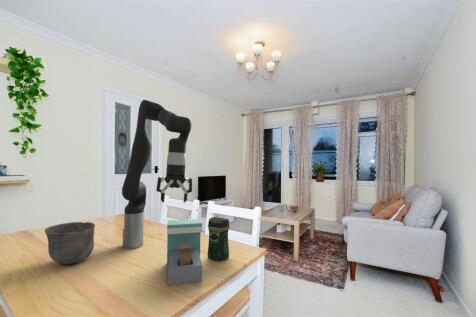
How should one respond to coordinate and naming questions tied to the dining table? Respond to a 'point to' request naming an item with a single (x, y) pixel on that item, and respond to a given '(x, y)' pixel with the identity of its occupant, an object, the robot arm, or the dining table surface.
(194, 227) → the teal two-tone block
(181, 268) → the socket block
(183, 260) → the walnut peg
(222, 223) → the coffee jar
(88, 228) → the cup
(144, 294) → the dining table surface
